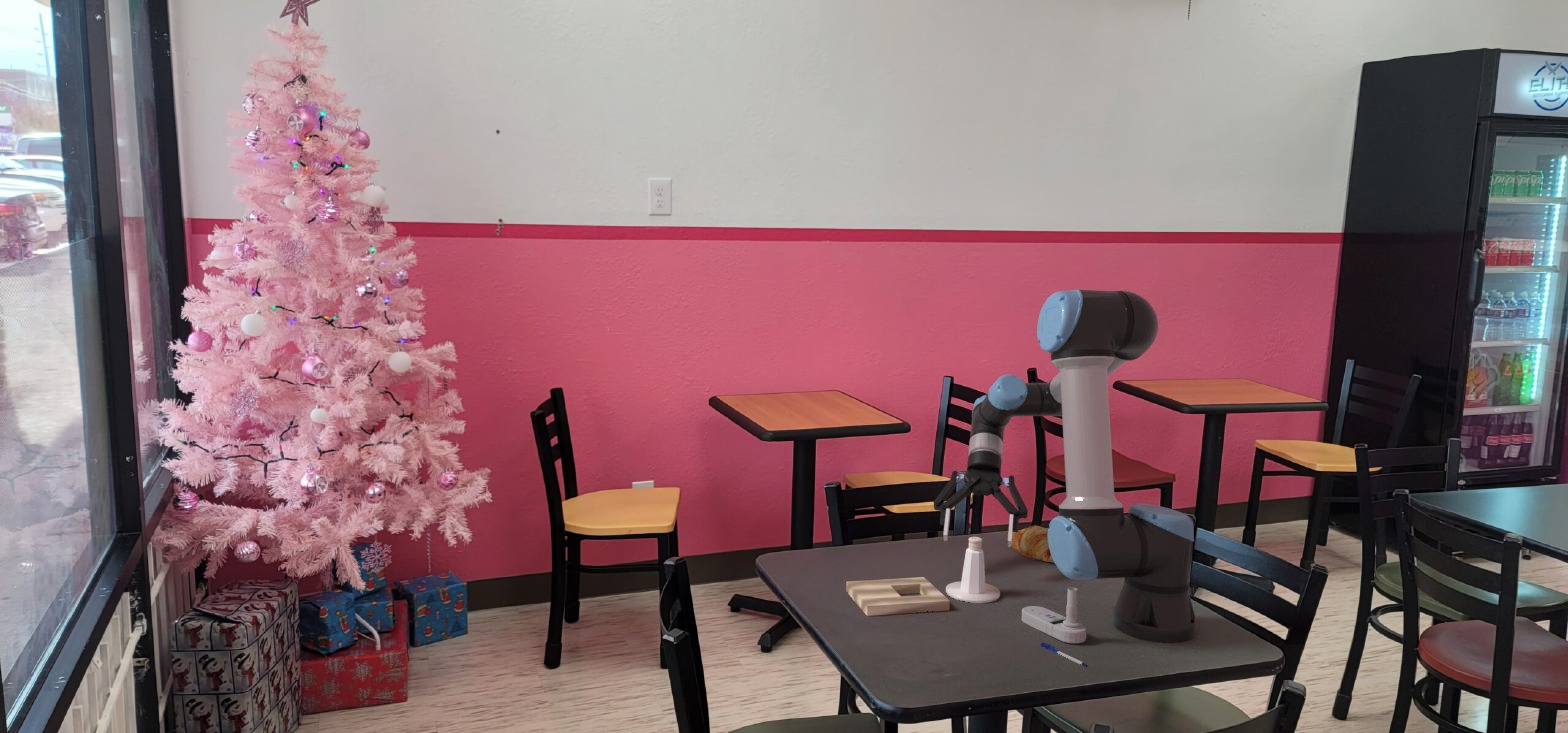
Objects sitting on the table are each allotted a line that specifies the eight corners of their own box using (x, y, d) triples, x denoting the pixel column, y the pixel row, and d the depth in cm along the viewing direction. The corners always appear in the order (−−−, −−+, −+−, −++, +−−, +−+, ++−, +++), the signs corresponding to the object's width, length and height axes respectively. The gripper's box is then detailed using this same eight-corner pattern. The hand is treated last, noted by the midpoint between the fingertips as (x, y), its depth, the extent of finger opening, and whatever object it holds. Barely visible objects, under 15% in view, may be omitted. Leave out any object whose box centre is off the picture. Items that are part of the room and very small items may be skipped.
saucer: (1009, 601, 207) (1009, 597, 207) (958, 605, 205) (958, 601, 205) (986, 583, 218) (986, 579, 218) (937, 586, 215) (937, 582, 215)
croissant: (1078, 581, 231) (1092, 549, 232) (1050, 566, 226) (1065, 533, 227) (1014, 553, 250) (1028, 523, 250) (987, 538, 245) (1001, 508, 245)
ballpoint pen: (1038, 647, 185) (1039, 641, 185) (1042, 646, 186) (1042, 640, 186) (1085, 668, 177) (1085, 662, 177) (1088, 667, 177) (1088, 661, 177)
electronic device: (1038, 568, 200) (1094, 591, 187) (1037, 617, 201) (1092, 642, 188) (1017, 572, 197) (1071, 595, 184) (1015, 621, 198) (1070, 647, 185)
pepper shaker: (966, 595, 208) (969, 543, 207) (955, 586, 213) (957, 535, 212) (990, 593, 209) (993, 541, 208) (979, 584, 215) (981, 533, 213)
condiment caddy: (949, 610, 202) (949, 600, 201) (867, 615, 198) (867, 606, 197) (923, 586, 215) (923, 577, 215) (846, 591, 211) (846, 581, 211)
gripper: (1040, 471, 232) (1036, 555, 220) (930, 462, 238) (920, 543, 226) (1042, 453, 226) (1037, 538, 214) (928, 444, 232) (918, 526, 220)
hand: (977, 541), depth 220 cm, fingers open, 13 cm apart
